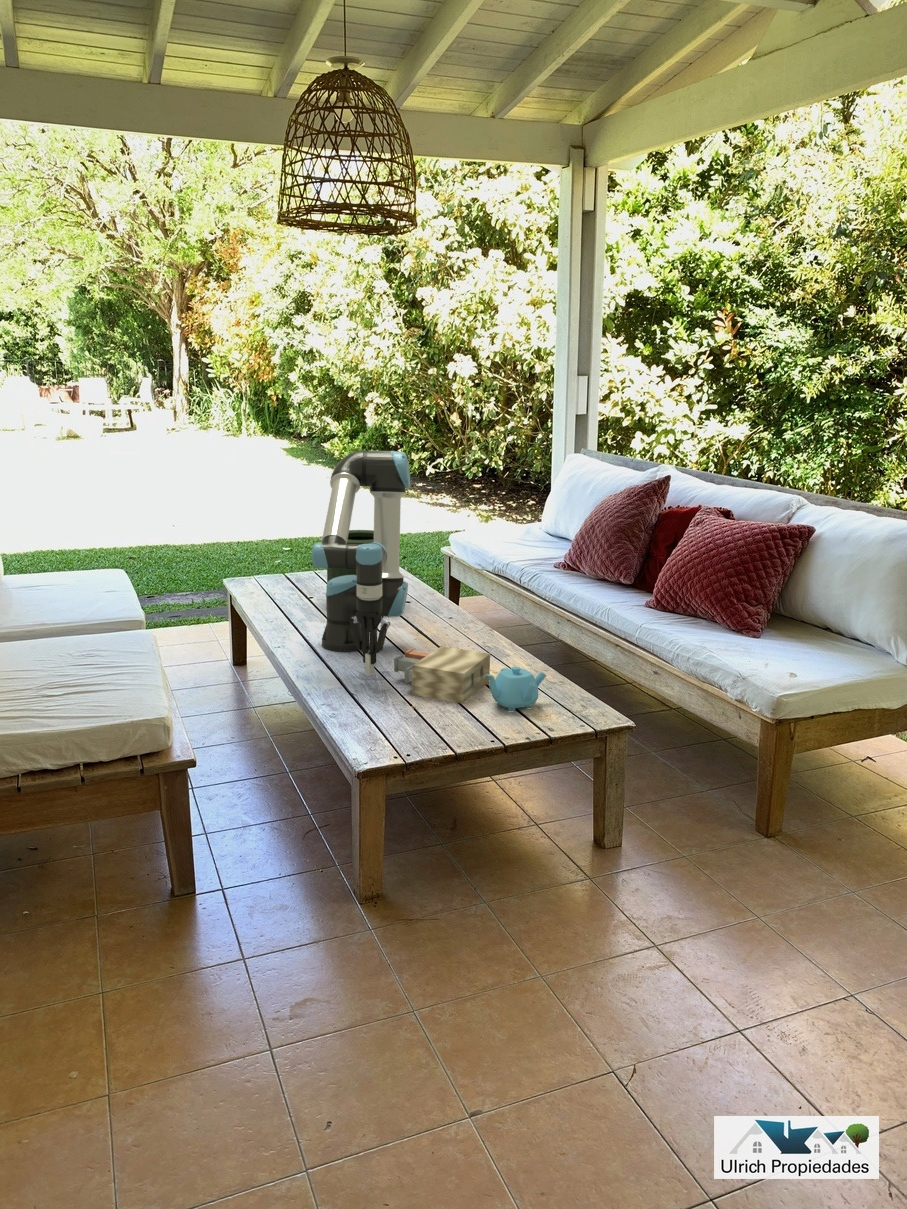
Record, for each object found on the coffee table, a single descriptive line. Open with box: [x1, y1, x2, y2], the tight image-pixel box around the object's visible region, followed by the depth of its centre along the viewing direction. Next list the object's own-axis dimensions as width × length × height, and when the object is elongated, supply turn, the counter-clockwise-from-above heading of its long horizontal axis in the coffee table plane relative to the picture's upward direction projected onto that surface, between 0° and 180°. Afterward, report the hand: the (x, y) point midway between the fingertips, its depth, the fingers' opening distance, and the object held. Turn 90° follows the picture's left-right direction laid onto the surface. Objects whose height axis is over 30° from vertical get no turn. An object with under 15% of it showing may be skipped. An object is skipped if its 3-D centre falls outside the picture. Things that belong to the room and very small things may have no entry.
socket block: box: [411, 646, 491, 705], centre depth 281 cm, size 16×20×9 cm
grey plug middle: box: [393, 654, 420, 673], centre depth 285 cm, size 17×4×4 cm, turn 66°
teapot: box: [485, 666, 547, 712], centre depth 268 cm, size 15×14×11 cm
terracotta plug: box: [404, 648, 431, 660], centre depth 291 cm, size 17×4×4 cm, turn 66°
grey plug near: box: [404, 665, 413, 684], centre depth 276 cm, size 17×4×4 cm, turn 66°
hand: (369, 673), depth 285 cm, fingers closed
